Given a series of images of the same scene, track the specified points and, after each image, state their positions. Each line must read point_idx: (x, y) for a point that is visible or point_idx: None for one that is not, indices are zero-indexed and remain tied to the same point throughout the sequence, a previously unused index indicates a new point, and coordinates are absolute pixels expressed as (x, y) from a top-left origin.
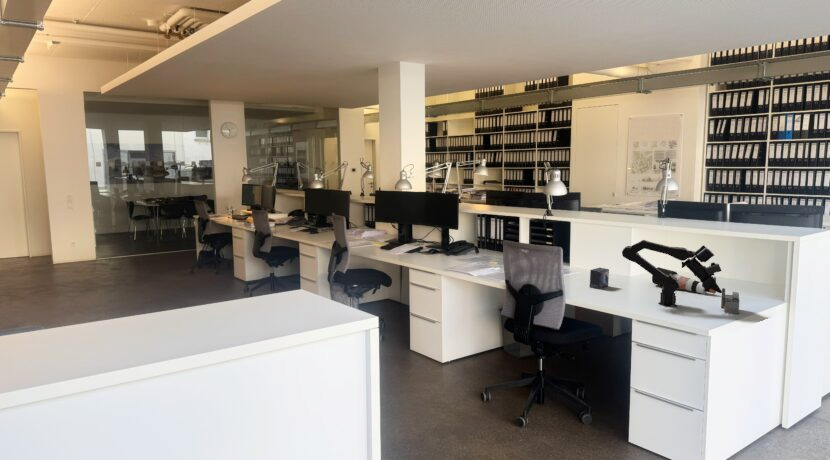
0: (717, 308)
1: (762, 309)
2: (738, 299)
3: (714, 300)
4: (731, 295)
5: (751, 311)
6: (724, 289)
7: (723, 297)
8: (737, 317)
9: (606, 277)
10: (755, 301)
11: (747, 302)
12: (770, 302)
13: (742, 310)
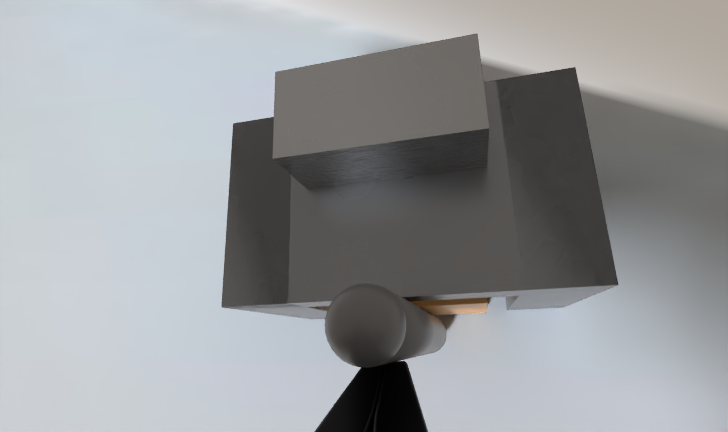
0: None
1: (237, 14)
2: (518, 86)
3: (22, 407)
4: (258, 203)
5: None
6: (400, 304)
7: (431, 325)
8: (724, 165)
9: None
10: (5, 85)
11: (43, 131)
12: (17, 3)
13: None
